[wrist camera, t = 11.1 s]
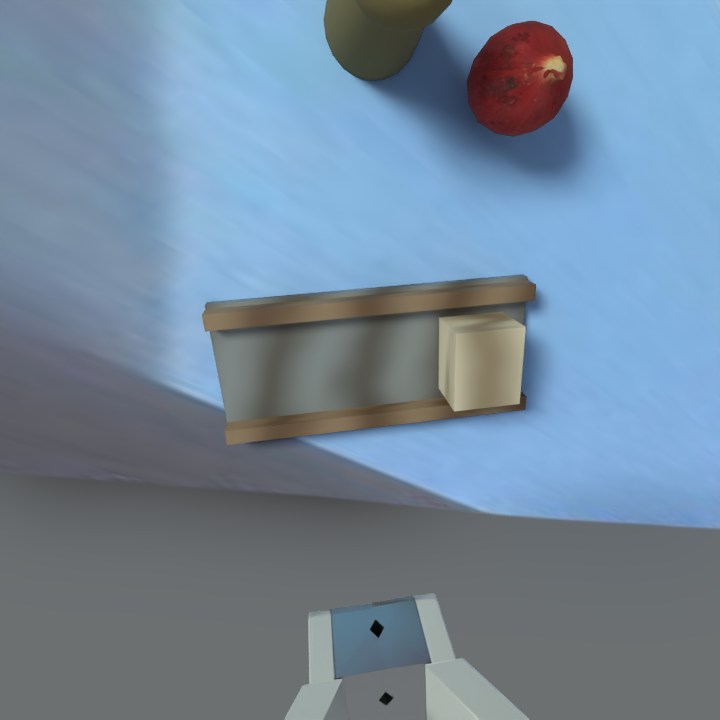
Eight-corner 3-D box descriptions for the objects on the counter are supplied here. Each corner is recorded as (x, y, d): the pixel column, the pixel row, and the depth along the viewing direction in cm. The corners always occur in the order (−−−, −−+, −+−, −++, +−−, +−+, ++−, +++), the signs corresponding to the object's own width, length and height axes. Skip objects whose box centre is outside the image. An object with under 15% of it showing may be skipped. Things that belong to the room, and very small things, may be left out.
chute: (522, 274, 36) (536, 280, 34) (513, 400, 40) (524, 412, 38) (206, 302, 33) (201, 310, 31) (231, 433, 38) (227, 448, 36)
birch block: (501, 311, 36) (525, 327, 32) (497, 381, 38) (519, 403, 34) (438, 317, 35) (455, 333, 31) (438, 388, 37) (454, 411, 34)
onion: (456, 148, 32) (506, 139, 24) (446, 51, 30) (496, 9, 22) (537, 130, 32) (609, 116, 25) (532, 32, 30) (610, -15, 22)
